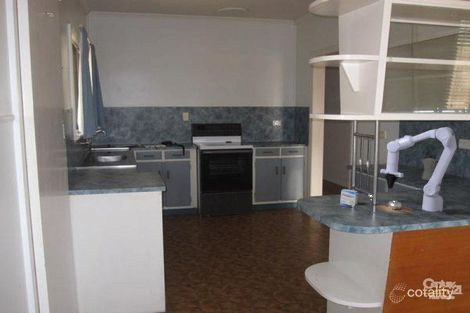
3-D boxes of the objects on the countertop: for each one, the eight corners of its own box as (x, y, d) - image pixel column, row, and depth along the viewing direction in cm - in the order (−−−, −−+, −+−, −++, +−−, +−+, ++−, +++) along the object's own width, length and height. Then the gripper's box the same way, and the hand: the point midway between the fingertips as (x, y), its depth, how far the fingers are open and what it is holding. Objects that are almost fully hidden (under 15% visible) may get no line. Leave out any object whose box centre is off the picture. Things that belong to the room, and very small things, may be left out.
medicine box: (339, 205, 215) (341, 190, 213) (342, 204, 218) (343, 188, 217) (354, 208, 210) (355, 192, 209) (357, 206, 214) (358, 190, 213)
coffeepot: (419, 179, 302) (421, 155, 299) (418, 177, 311) (420, 154, 308) (442, 181, 297) (444, 157, 294) (440, 179, 305) (443, 155, 303)
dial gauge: (371, 206, 215) (372, 193, 214) (376, 208, 212) (377, 195, 211) (365, 207, 214) (366, 194, 213) (370, 209, 210) (372, 195, 209)
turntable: (394, 205, 219) (394, 203, 219) (421, 214, 203) (421, 211, 203) (368, 208, 212) (368, 205, 212) (394, 217, 196) (394, 214, 195)
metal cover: (394, 206, 211) (395, 199, 210) (403, 209, 206) (404, 201, 205) (385, 207, 209) (386, 199, 208) (394, 210, 203) (395, 202, 203)
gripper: (377, 161, 222) (374, 185, 224) (397, 165, 209) (394, 191, 211) (386, 161, 225) (384, 185, 227) (407, 165, 212) (404, 190, 213)
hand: (390, 188), depth 219 cm, fingers closed
